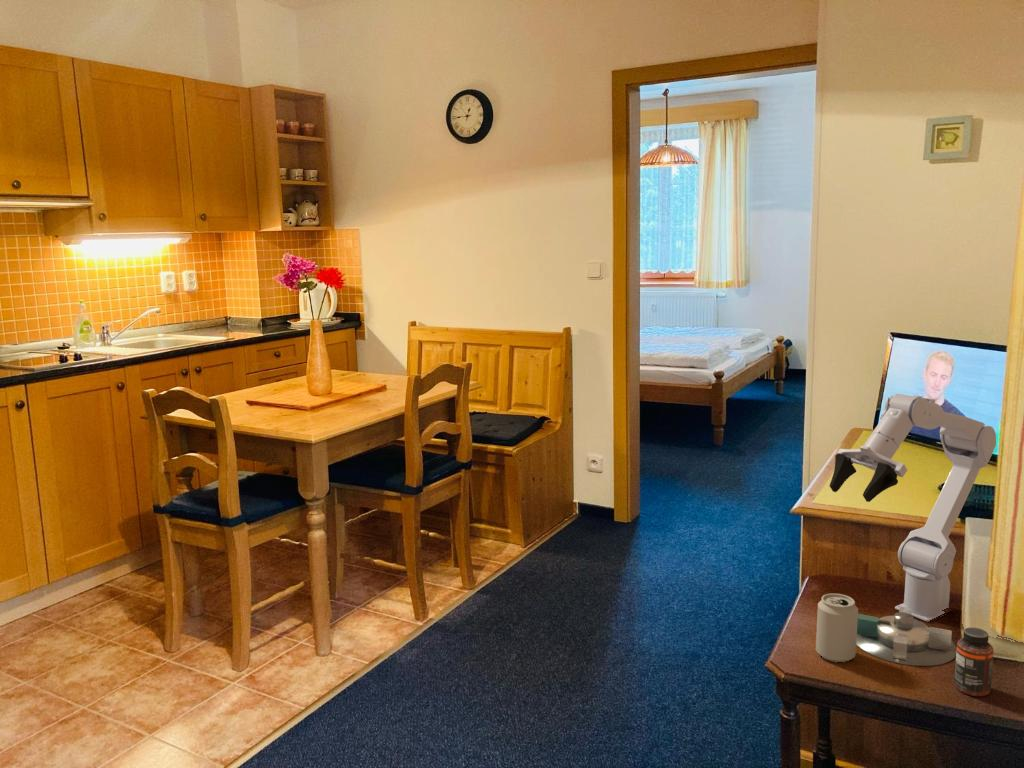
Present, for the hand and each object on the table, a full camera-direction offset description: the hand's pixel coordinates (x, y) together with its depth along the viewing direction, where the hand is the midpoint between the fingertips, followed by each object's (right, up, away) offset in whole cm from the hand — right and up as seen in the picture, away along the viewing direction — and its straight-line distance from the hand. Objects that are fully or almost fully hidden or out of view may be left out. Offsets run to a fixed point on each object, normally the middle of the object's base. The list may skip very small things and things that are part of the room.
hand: (848, 493), depth 167 cm
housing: (+14, -31, +7) cm, 35 cm away
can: (-2, -33, +2) cm, 33 cm away
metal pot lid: (+14, -31, +7) cm, 35 cm away
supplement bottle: (+18, -35, -11) cm, 41 cm away
